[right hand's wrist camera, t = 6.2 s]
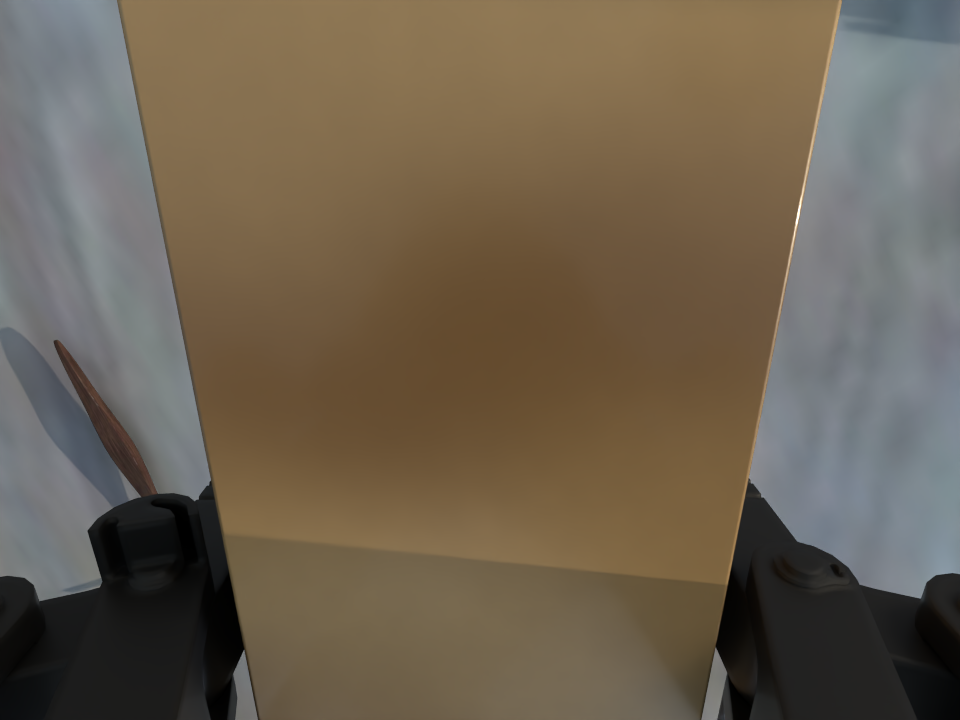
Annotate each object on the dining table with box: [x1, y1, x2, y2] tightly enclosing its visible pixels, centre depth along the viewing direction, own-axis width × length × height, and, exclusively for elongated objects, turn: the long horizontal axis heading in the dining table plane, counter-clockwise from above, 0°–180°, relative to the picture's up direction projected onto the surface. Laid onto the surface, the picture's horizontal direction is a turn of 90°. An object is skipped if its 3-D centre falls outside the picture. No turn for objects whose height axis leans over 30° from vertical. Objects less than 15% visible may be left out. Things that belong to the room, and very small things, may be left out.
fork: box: [54, 340, 158, 497], centre depth 28 cm, size 3×16×2 cm, turn 17°
